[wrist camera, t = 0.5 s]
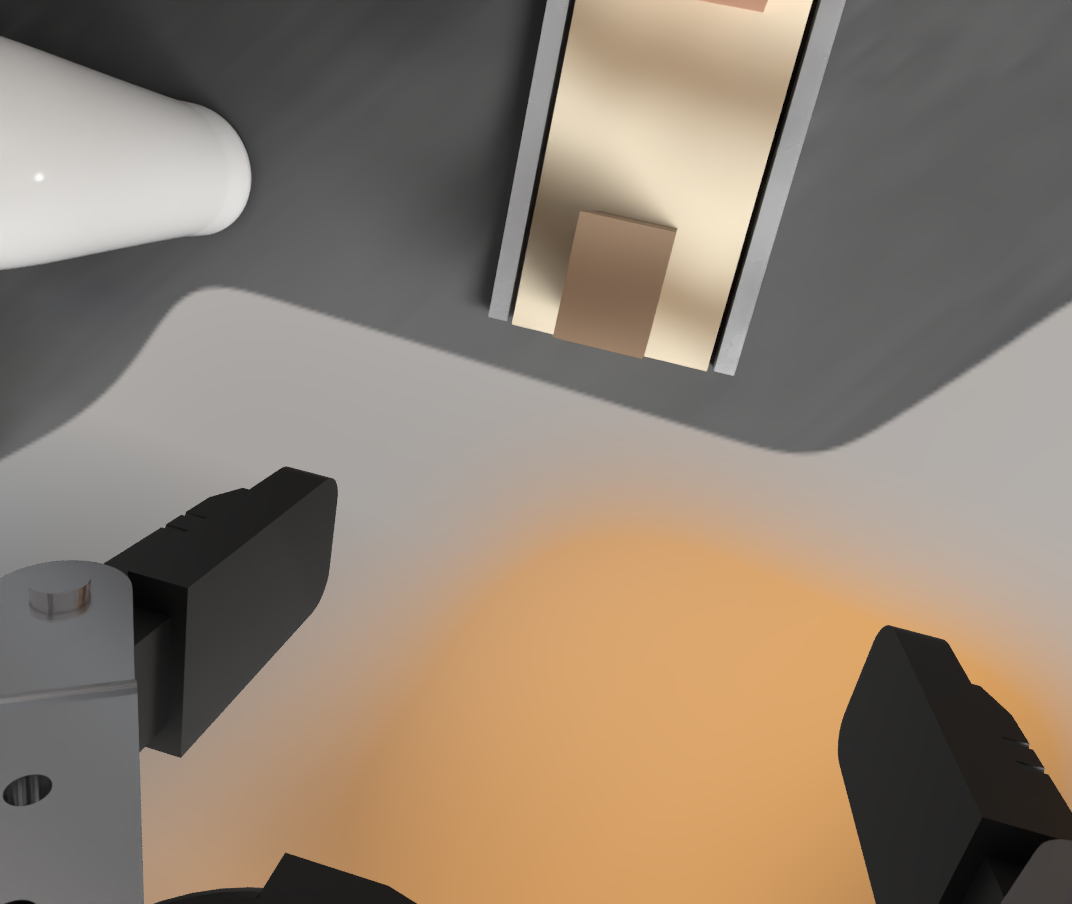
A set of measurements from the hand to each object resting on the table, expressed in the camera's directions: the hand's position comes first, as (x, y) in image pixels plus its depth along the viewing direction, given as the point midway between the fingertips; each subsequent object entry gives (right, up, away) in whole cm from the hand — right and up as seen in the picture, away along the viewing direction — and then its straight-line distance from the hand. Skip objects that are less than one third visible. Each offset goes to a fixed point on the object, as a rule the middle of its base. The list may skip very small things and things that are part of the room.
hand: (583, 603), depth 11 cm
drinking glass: (-15, +14, +23) cm, 31 cm away
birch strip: (+5, +17, +18) cm, 25 cm away
